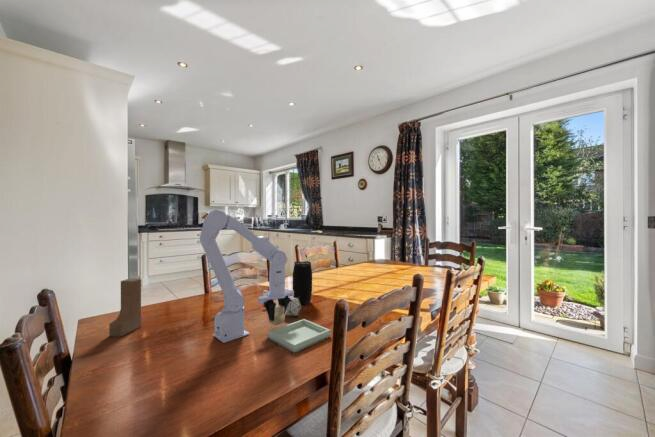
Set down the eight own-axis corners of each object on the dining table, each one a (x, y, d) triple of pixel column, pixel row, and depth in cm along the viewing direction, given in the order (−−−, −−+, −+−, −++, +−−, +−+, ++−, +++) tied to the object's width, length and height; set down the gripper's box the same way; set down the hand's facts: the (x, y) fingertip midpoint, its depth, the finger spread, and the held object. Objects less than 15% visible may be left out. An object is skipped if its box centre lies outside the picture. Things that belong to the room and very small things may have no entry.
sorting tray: (294, 353, 85) (294, 345, 85) (268, 338, 94) (268, 331, 94) (330, 337, 96) (330, 329, 96) (304, 325, 106) (304, 318, 106)
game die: (295, 323, 117) (309, 302, 120) (291, 323, 109) (306, 301, 112) (279, 310, 120) (292, 291, 122) (273, 310, 112) (288, 288, 114)
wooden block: (120, 337, 94) (120, 284, 94) (108, 336, 95) (108, 284, 94) (141, 326, 103) (141, 278, 103) (130, 326, 104) (130, 277, 103)
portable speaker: (289, 302, 133) (289, 261, 133) (305, 298, 139) (306, 259, 139) (298, 307, 126) (298, 264, 126) (315, 303, 132) (315, 262, 132)
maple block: (275, 325, 100) (275, 309, 100) (268, 322, 103) (269, 306, 103) (284, 322, 103) (284, 306, 103) (277, 319, 106) (278, 304, 106)
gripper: (266, 287, 95) (265, 327, 95) (299, 280, 105) (298, 316, 105) (255, 283, 100) (254, 321, 100) (287, 277, 110) (287, 311, 110)
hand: (276, 318), depth 103 cm, fingers closed on maple block, 4 cm apart
